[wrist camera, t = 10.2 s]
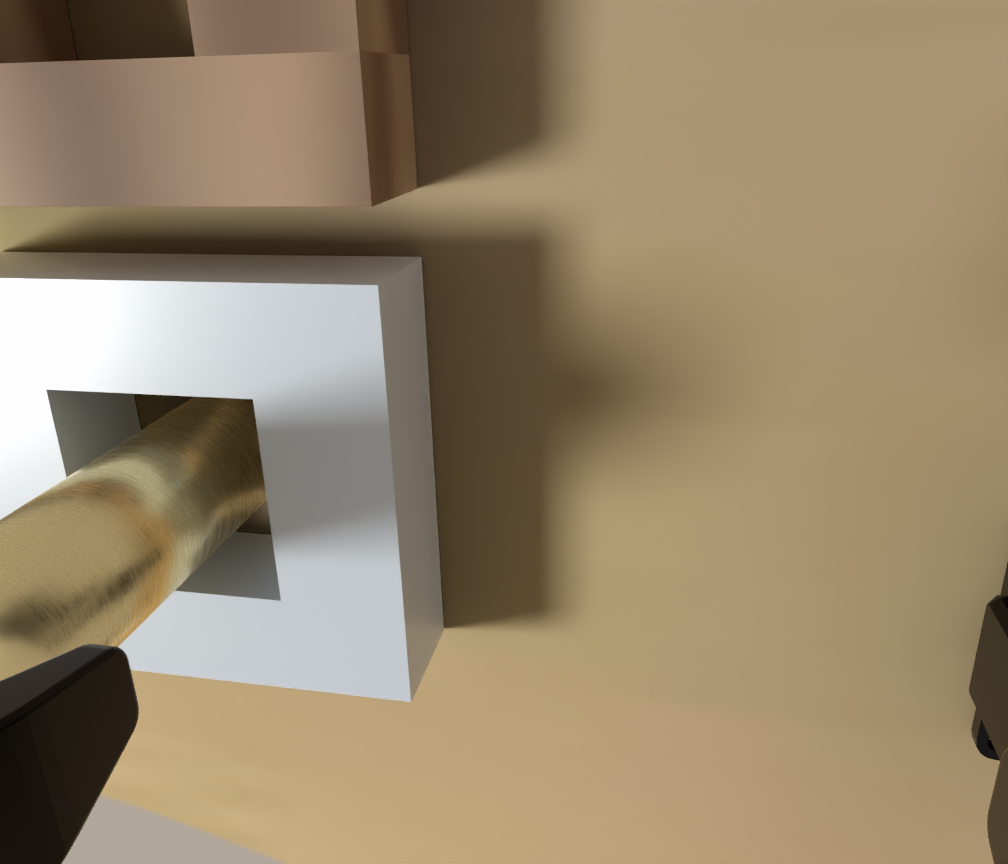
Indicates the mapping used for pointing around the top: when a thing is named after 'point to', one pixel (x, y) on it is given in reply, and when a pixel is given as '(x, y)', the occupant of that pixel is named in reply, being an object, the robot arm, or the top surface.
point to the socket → (282, 440)
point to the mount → (212, 109)
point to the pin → (125, 531)
